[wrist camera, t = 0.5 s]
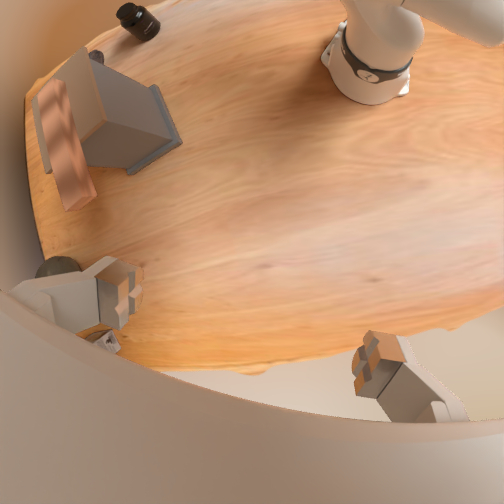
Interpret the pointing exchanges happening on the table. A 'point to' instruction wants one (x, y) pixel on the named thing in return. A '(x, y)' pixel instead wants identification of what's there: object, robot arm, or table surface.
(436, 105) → the table surface
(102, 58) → the perforated stone tool
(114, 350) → the coffee box
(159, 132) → the stand
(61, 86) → the bar
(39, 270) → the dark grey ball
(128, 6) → the supplement bottle
